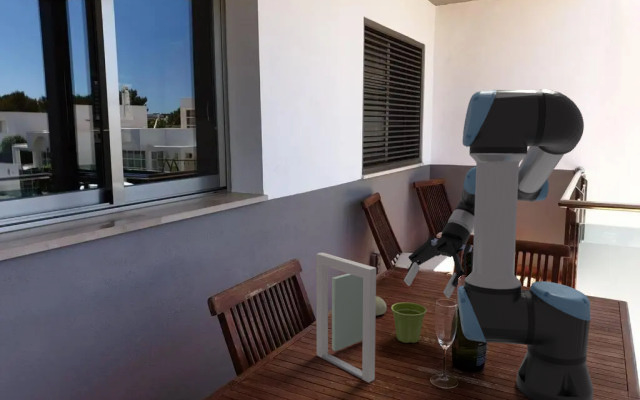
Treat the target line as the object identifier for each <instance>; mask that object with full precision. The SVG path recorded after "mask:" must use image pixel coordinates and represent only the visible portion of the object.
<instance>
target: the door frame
mask: <svg viewBox="0 0 640 400" xmlns="http://www.w3.org/2000/svg"><path fill="white" fill-rule="evenodd" d="M315 259H316V263H315V265H316V266H315V271H316V274H315V276H316V277H315V279H316V283H315V284H316V286H315V287H316V288H315V289H316V294H315V296H316V298H315V300H316V301H315V302H316V306H315V307H316V356H318V357H320V359H323V360H324V361H327V362H329V363H331V364H332V365H335V366H336V367H339V368H340V369H342V370H344V371H346V372H348V373H350V374H351V375H353V376H356V377H357V378H359V379H361V380H363V381H365V382H366V383H372V382H373V381H375V380H376V379H375V377H376V376H375V375H376V374H375V371H376V316H377V315H376V296H377V267H374V266H371V265H368V264H365V263H360V262H357V261H353V260H351V259H346V258H342V257H340V256H336V255H334V254H330V253H326V252H318V253H316V254H315ZM329 268H331V269H333V270H337V271H340V272H343V273H344V274H348V273H349V274H352V275H355V276H358V277H361V278H363V340H362V352H361V353H362V355H361V356H362V362H361V364H362V365H361V366H362V367H361V368H362V369H360V368H358V367H356V366H354V365H351V364H350V363H348V362H346V361H344V360H342V359H340V358H338V357H336V356H334V355H332V354H330V353H329V310H328V309H329V298H328V297H329V290H328V289H329V287H328V286H329V285H328V284H329V277H328V276H329V271H328V270H329Z"/></svg>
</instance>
